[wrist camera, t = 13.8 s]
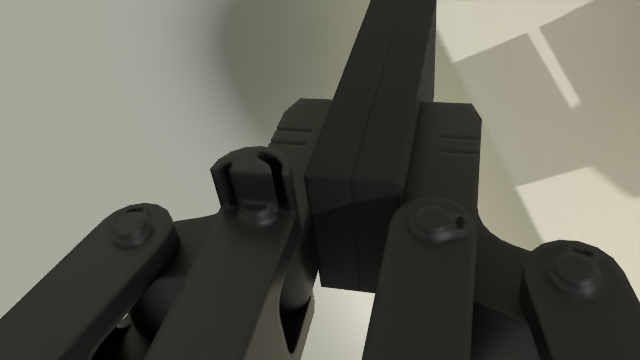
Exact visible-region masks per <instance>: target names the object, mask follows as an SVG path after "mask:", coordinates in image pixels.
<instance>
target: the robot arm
mask: <svg viewBox="0 0 640 360" xmlns="http://www.w3.org/2000/svg"><path fill="white" fill-rule="evenodd" d="M435 35H436V0H371V1H370V4H369V7H368V9H367V12H366V14H365V17H364V20H363V22H362V25H361V27H360V30H359V33H358V35H357V38H356V41H355V43H354V46H353V48H352V51H351V53H350V56H349V59H348V61H347V64H346V66H345V69H344V72H343V75H342V77H341V80H340V82H339V85H338V88H337V90H336V93H335V95H334V98H333V100H329V99H306V98H305V99H304V98H300V99H299V100H298V101H297V102H296V103H294V104H293V105H292V106H291V107H290V108H288V109H287V110H286V111H285V112H284V114H283V116H282V118H281V120H280V122H279V125H278V127H277V131H275V133H274V135H273V137H272V139H271V144H269V145H268V147H263V146H258V147H245V148H242V149H239V150H235V151H232V152H230V153H228V154H227V155H225V156H223V157H222V158H220V159H218V161H217V162H216V163H215V164H214V165H213V166H212V168H211V169H210V171H211V174H212V177H213V181H214V184H215V188H216V191H217V194H218V198H219V201H220V205H221V208H220V210H219V212H218V213H217V214H214V215H210V216H205V217H200V218H194V219H188V220H181V221H175V222H173V220H172V218H171V216H170V214H169V213H168V211H167V210H166V209H164V208H162V207H160V206H159V205H157V204H149V203H141V204H135V205H129V206H127V207H125V208H122V209H120V210H118V211H115V212H114V213H112V214H111V215H110V216H108V217H107V218H105V219H104V220H103V221H102V222H101V223H100V224H99V225H98V226H97V227H95V228H94V230H92V231H91V232H90V233H89V234H88V235H87V236H86V237H85V238H84V239H83V240H82V241H81V242H80V243H79V244H78V245H77V246H76V247H75V248H74V249H73V250H72V251H71V252H70V253H68V255H66V256H65V257H64V258H63V259H62V260H61V261H60V262H59V263H58V264H57V265H56V266H55V267H54V268H53V269H52V270H51V271H50V272H49V273H48V274H47V275H46V276H45V277H44V278H43V279H41V280H40V281H39V282H38V283H37V284H36V285H35V286H34V287H33V288H32V289H31V290H30V291H29V292H28V293H27V294H26V295H25V296H24V297H23V298H22V299H21V300H20V301H19V302H18V303H17V304H16V305H15V306H14V307H12V308H11V309H10V310H9V311H8V312H7V313H6V314H5V315H4V316H3V317H2V318H1V319H0V360H300V359H301V356H302V352H303V349H304V345H305V342H306V338H307V335H308V331H309V327H310V324H311V321H312V317H313V314H314V302H315V300H314V295H313V286H314V282H315V279H316V276H317V272H318V269H319V276H320V282H321V287H329V288H337V289H345V290H353V291H362V292H369V293H375V298H374V303H373V308H372V313H371V317H370V322H369V327H368V332H367V337H366V341H365V346H364V351H363V356H362V360H640V302H639V300H638V298H637V296H636V294H635V292H634V290H633V289H632V287H631V285H630V283H629V281H628V279H627V277H626V275H625V273H624V271H623V270H622V269H621V268H620V266H619V265H618V264H617V262H616V261H615V260H614V259H613V258H612V257H611V256H609V255H608V254H606V253H605V252H603V251H602V250H600V249H599V248H597V247H594V246H591V245H588V244H585V243H582V242H579V241H568V240H557V241H552V242H548V243H544V244H541V245H540V246H539V247H537V248H536V249H534V250H533V251H528V250H525V249H523V248H520V247H517V246H514V245H512V244H509V243H507V242H505V241H503V240H501V239H499V238H498V237H496V236H495V235H494V234H492V233H491V232H489V230H488V229H487V228H486V227H485V226H484V225H483V223H482V221H481V219H480V217H479V215H478V208H477V201H478V182H479V163H480V162H479V161H480V143H481V124H482V119H481V118H480V116H479V114H478V113H477V111H476V110H475V108H474V107H473V105H472V104H465V103H441V102H433V98H434V73H435V71H434V70H435ZM126 314H128V315H127V316H126V317H125V318H124V319H123V317H124V316H125V315H126ZM122 319H123V320H122Z"/></svg>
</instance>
